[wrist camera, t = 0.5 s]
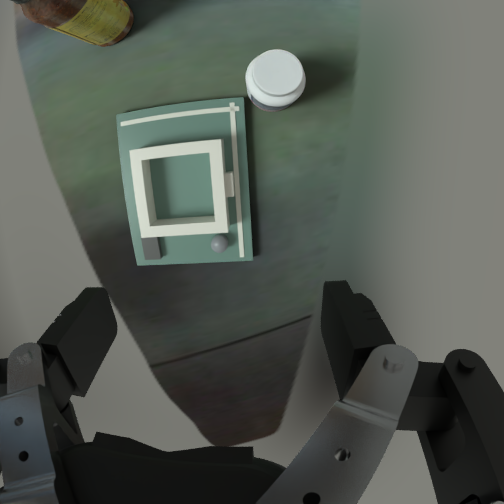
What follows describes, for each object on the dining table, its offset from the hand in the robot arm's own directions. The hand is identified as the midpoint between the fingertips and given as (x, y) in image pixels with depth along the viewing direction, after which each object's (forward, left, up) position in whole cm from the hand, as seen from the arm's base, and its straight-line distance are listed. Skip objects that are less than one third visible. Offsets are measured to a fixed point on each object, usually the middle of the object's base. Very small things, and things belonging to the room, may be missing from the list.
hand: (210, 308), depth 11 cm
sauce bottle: (-22, -14, -24) cm, 35 cm away
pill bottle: (-11, +4, -24) cm, 27 cm away
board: (-1, -6, -24) cm, 25 cm away
